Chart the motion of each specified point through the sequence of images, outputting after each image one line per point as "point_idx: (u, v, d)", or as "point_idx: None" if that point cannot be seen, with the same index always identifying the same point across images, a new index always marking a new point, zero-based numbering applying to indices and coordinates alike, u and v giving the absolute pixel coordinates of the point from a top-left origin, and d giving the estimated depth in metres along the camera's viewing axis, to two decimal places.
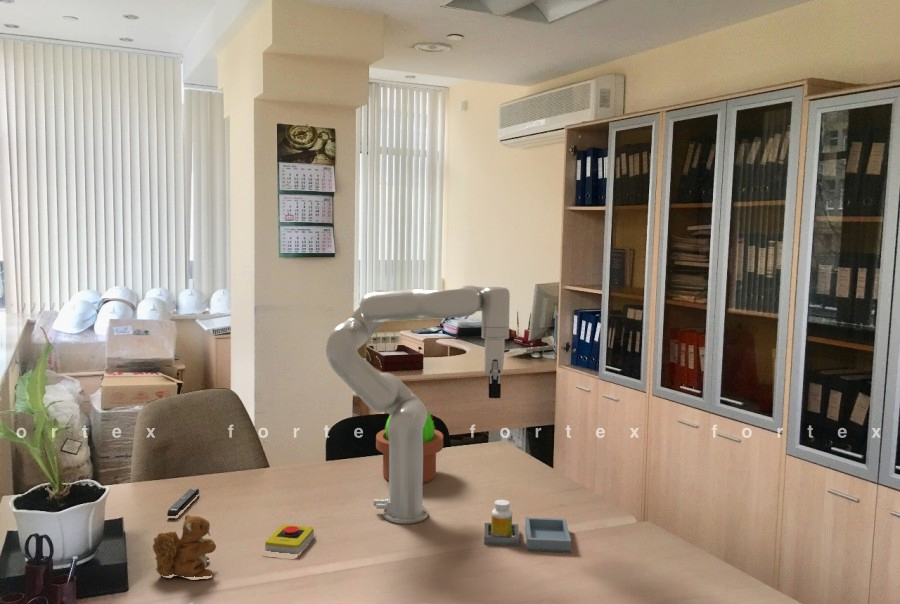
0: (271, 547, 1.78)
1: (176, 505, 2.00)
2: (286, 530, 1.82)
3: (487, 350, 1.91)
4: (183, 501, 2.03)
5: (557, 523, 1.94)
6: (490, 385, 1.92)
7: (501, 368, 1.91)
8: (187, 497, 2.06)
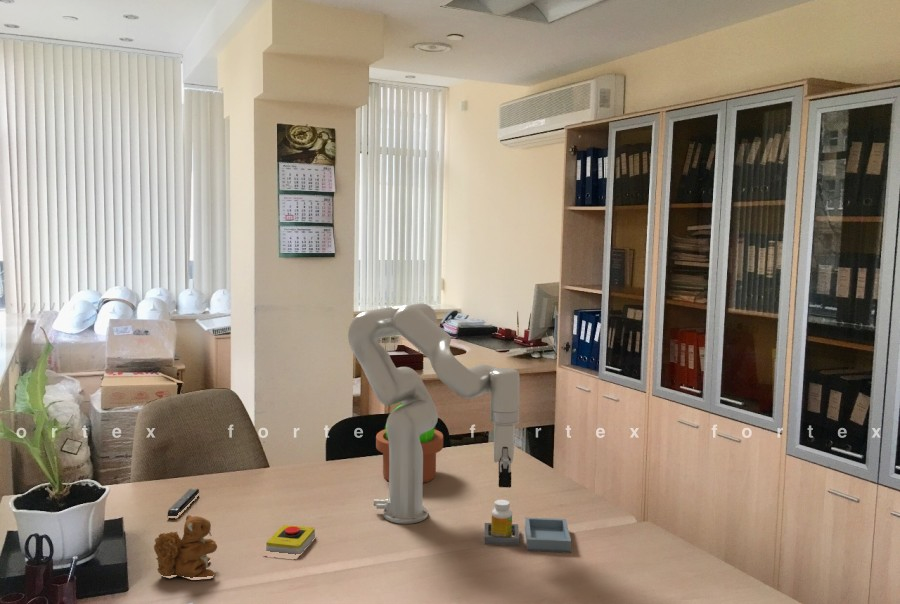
0: (272, 547, 1.77)
1: (176, 505, 2.00)
2: (287, 530, 1.82)
3: (496, 437, 1.82)
4: (183, 501, 2.03)
5: (557, 523, 1.94)
6: (500, 474, 1.82)
7: (511, 456, 1.82)
8: (187, 497, 2.06)
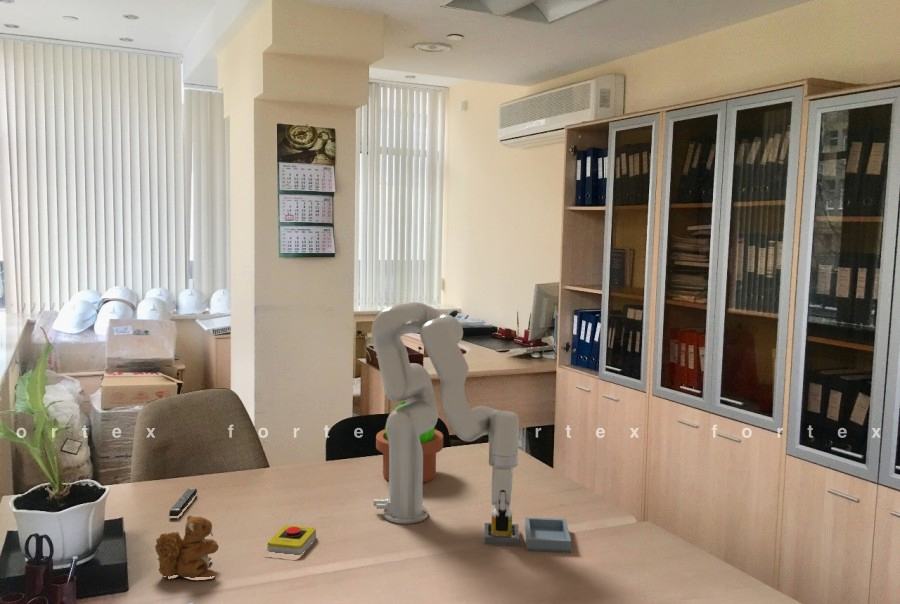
0: (273, 547, 1.77)
1: (177, 505, 2.00)
2: (288, 531, 1.82)
3: (494, 480, 1.83)
4: (183, 501, 2.03)
5: (557, 523, 1.94)
6: (497, 517, 1.85)
7: (509, 499, 1.83)
8: (187, 497, 2.07)
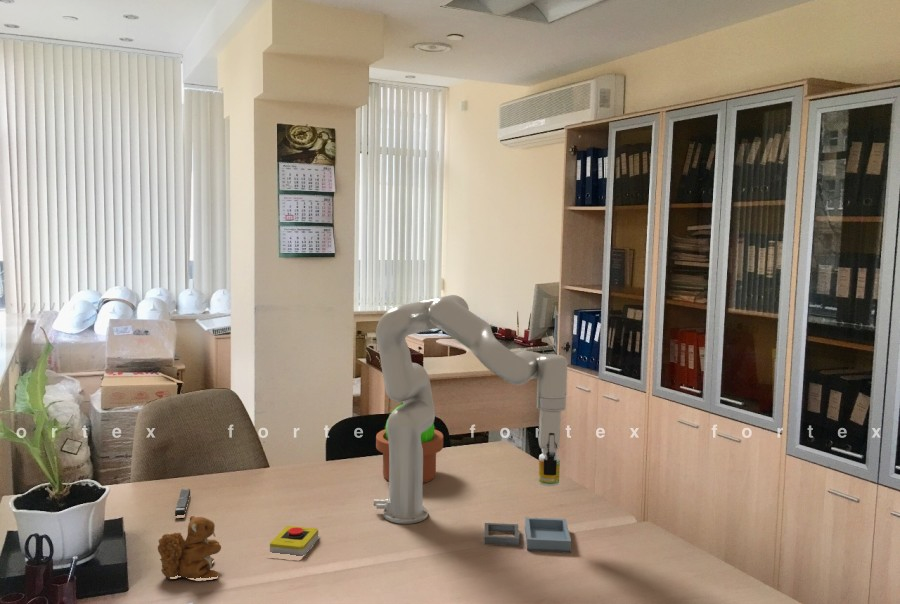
0: (276, 548, 1.77)
1: (180, 505, 2.01)
2: (291, 531, 1.81)
3: (543, 423, 1.81)
4: (184, 501, 2.04)
5: (557, 523, 1.94)
6: (545, 461, 1.83)
7: (558, 442, 1.81)
8: (185, 497, 2.07)
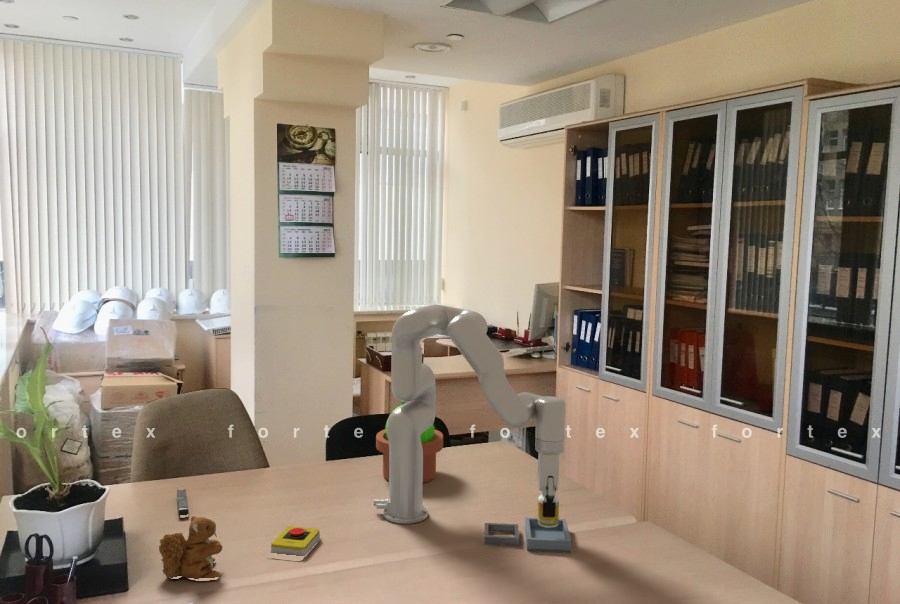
0: (277, 549, 1.77)
1: (182, 505, 2.01)
2: (292, 532, 1.81)
3: (542, 466, 1.82)
4: (185, 500, 2.04)
5: None
6: (544, 503, 1.84)
7: (557, 485, 1.82)
8: (184, 497, 2.07)
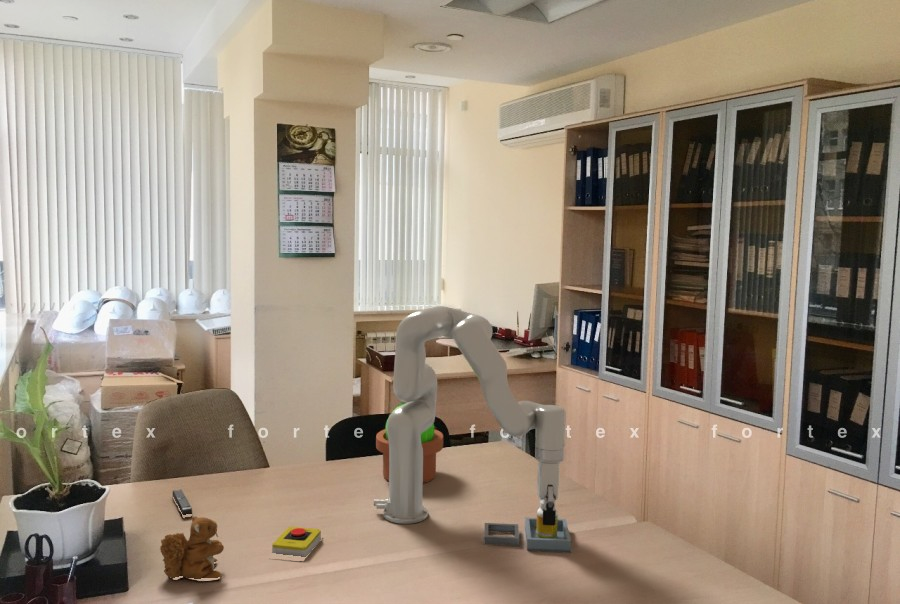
0: (278, 549, 1.76)
1: (184, 504, 2.01)
2: (293, 532, 1.81)
3: (542, 474, 1.82)
4: (185, 500, 2.04)
5: (557, 523, 1.94)
6: (544, 512, 1.83)
7: (556, 493, 1.82)
8: (183, 497, 2.07)
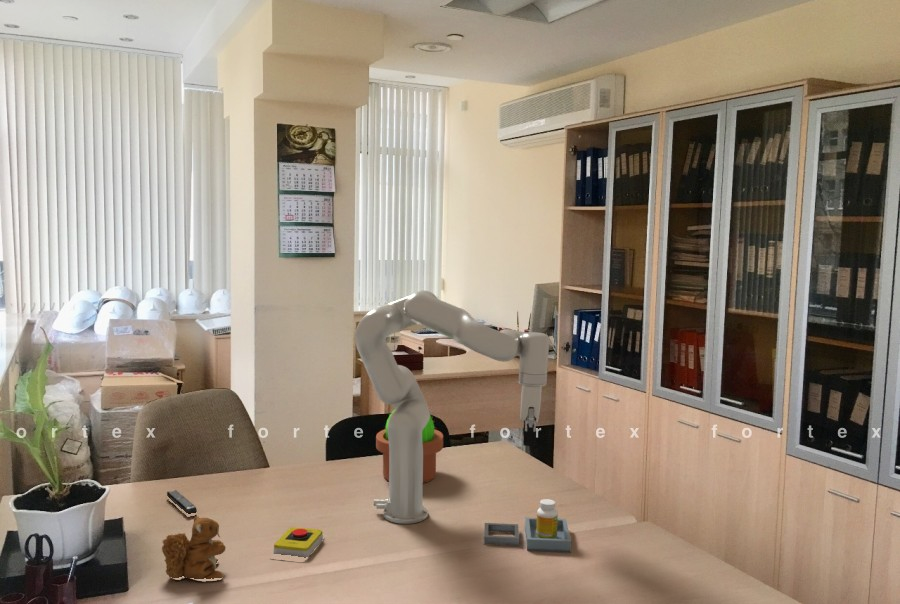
0: (280, 549, 1.76)
1: (187, 504, 2.01)
2: (295, 533, 1.81)
3: (524, 397, 1.89)
4: (186, 500, 2.04)
5: (557, 523, 1.94)
6: (525, 432, 1.89)
7: (537, 416, 1.89)
8: (182, 497, 2.07)
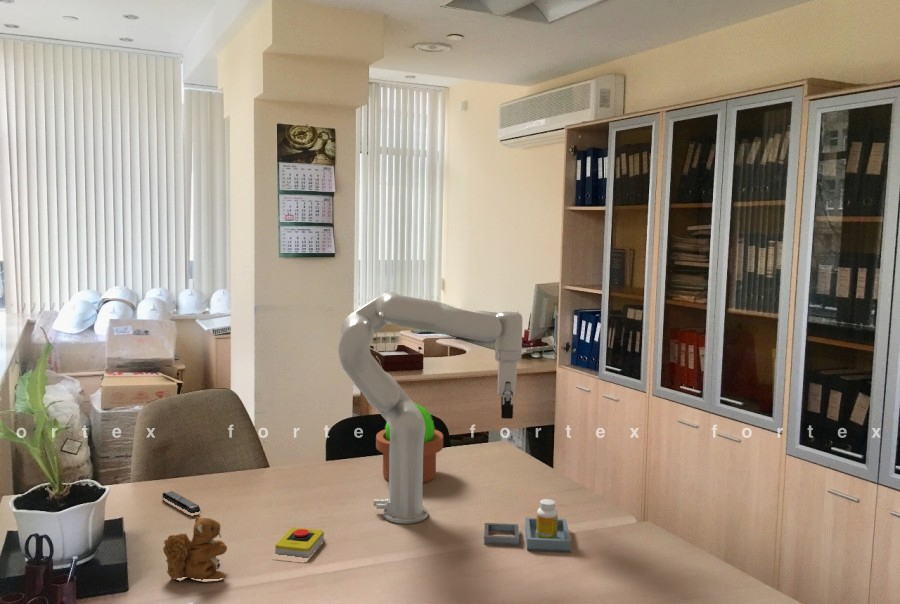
0: (281, 550, 1.76)
1: (189, 503, 2.02)
2: (296, 533, 1.81)
3: (500, 372, 2.00)
4: (186, 500, 2.04)
5: (557, 523, 1.94)
6: (503, 406, 2.01)
7: (513, 390, 2.00)
8: (181, 497, 2.06)
